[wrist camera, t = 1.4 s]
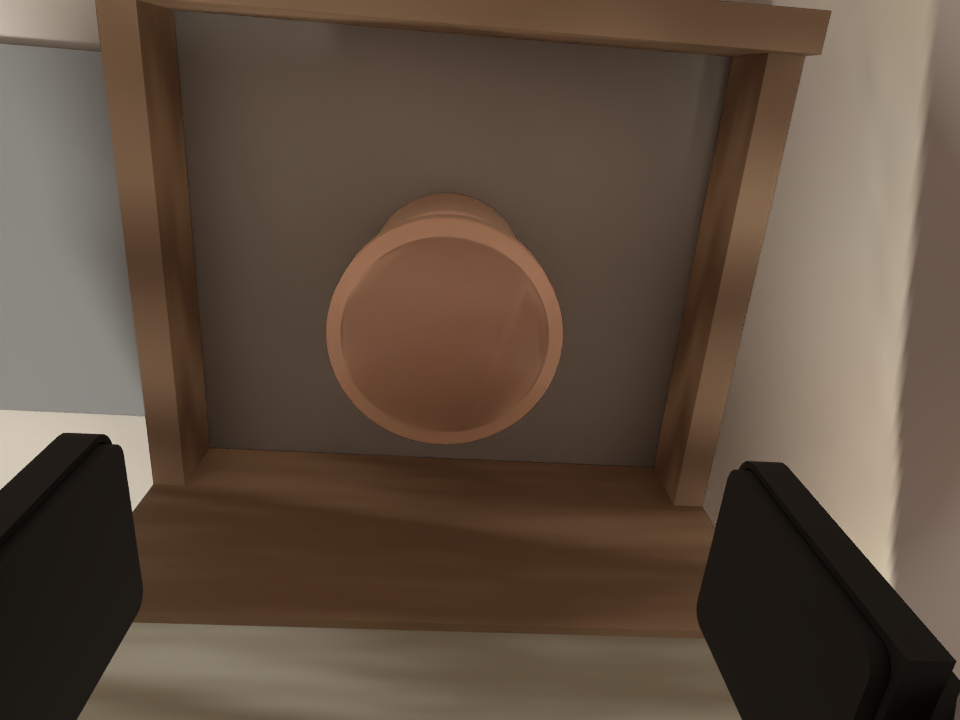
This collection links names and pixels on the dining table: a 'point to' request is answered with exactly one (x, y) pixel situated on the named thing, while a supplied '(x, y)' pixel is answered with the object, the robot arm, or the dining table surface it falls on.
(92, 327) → the slate mat
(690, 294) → the box
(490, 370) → the terracotta pot
